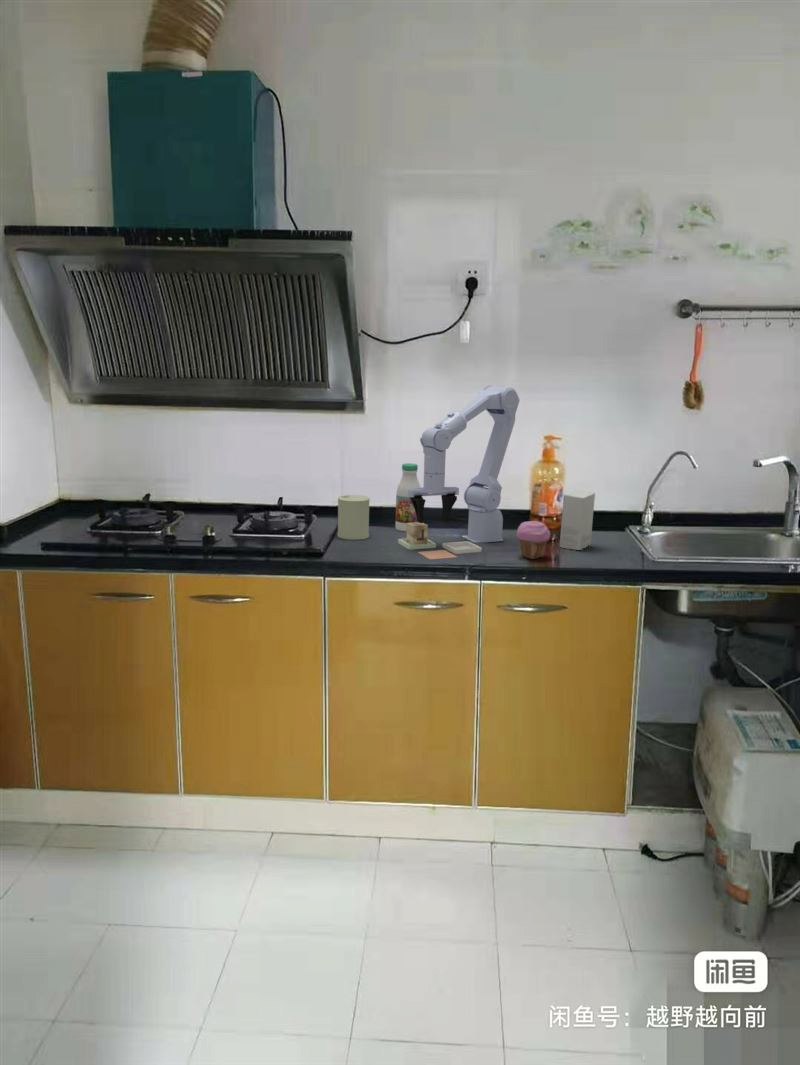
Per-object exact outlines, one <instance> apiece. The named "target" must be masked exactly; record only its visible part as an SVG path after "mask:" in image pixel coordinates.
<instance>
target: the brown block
mask: <svg viewBox="0 0 800 1065" xmlns="http://www.w3.org/2000/svg"><path fill="white" fill-rule="evenodd" d="M428 527H429V525H428V524H426V523H424V522H423V523H419V522H414V523H407V531H406V538H407V539H406V538H405V539H406V542H407V543H408V544H410V545H416V544H427V539H428V534H429V533H428V531H429V530H428V529H429V528H428Z"/></svg>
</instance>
